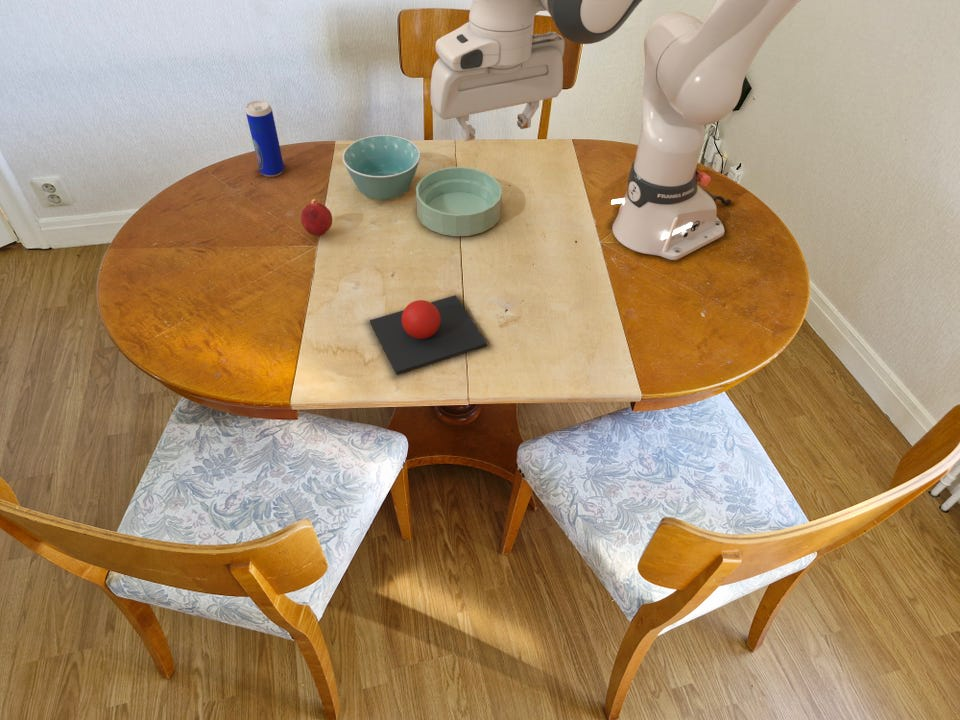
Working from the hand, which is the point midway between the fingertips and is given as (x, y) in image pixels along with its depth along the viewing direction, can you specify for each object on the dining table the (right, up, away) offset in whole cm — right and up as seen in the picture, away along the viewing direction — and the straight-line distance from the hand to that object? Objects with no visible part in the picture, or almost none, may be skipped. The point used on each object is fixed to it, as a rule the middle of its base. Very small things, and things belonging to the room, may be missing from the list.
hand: (496, 132), depth 106 cm
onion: (-34, -11, +29) cm, 46 cm away
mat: (-11, -31, +11) cm, 34 cm away
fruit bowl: (-7, -5, +35) cm, 36 cm away
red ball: (-11, -30, +10) cm, 33 cm away
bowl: (-23, +1, +40) cm, 46 cm away
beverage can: (-48, +6, +44) cm, 65 cm away
